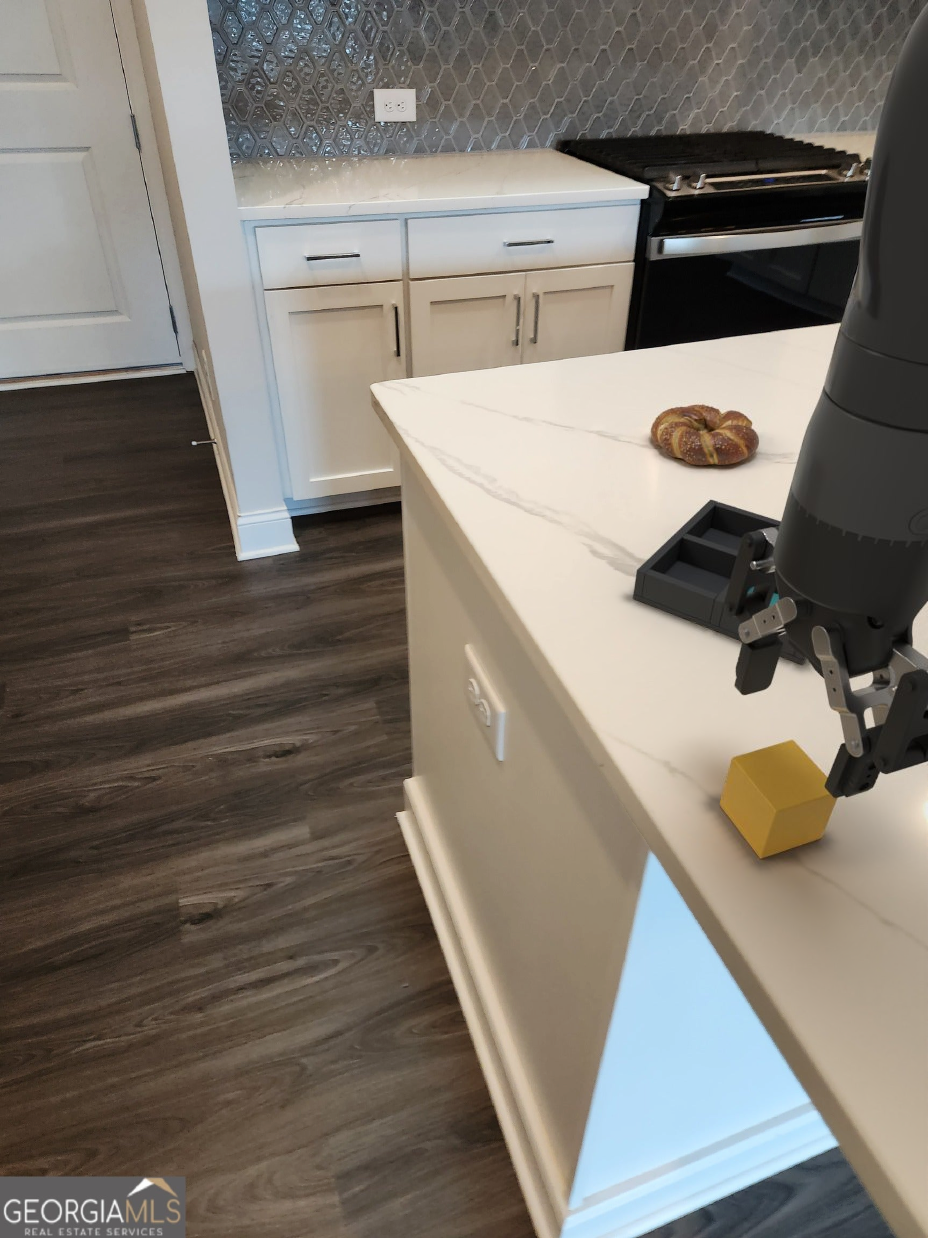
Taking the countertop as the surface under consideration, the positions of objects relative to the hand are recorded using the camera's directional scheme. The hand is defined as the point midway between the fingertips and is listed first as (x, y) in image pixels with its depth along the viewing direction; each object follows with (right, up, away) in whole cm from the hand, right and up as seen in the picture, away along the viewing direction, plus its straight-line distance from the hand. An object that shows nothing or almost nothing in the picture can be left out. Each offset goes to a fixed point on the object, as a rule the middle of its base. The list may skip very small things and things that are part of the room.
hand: (794, 736), depth 48 cm
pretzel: (+8, +26, +46) cm, 54 cm away
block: (0, -6, +4) cm, 7 cm away
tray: (+6, +10, +24) cm, 27 cm away
